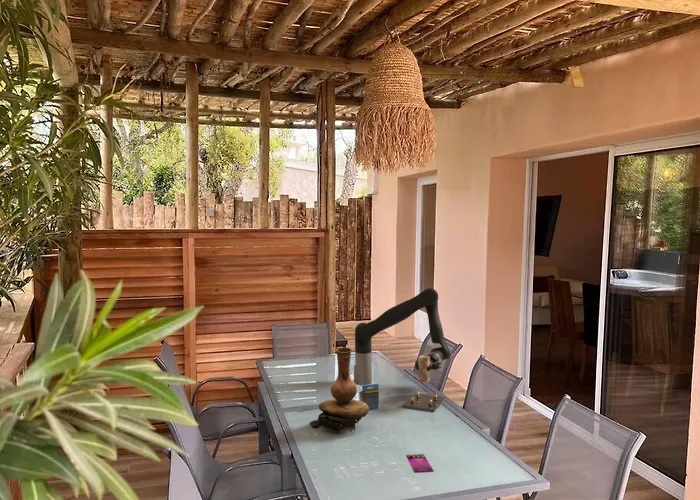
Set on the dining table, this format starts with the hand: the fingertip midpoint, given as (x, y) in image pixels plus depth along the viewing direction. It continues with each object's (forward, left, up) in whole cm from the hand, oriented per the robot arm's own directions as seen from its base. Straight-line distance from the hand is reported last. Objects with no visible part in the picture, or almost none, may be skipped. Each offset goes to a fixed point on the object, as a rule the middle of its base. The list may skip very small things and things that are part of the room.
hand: (422, 368), depth 269 cm
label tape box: (-22, -16, -18) cm, 33 cm away
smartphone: (+18, -64, -19) cm, 69 cm away
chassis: (0, +2, -18) cm, 18 cm away
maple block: (0, +3, -7) cm, 7 cm away
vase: (-25, -42, -18) cm, 52 cm away
